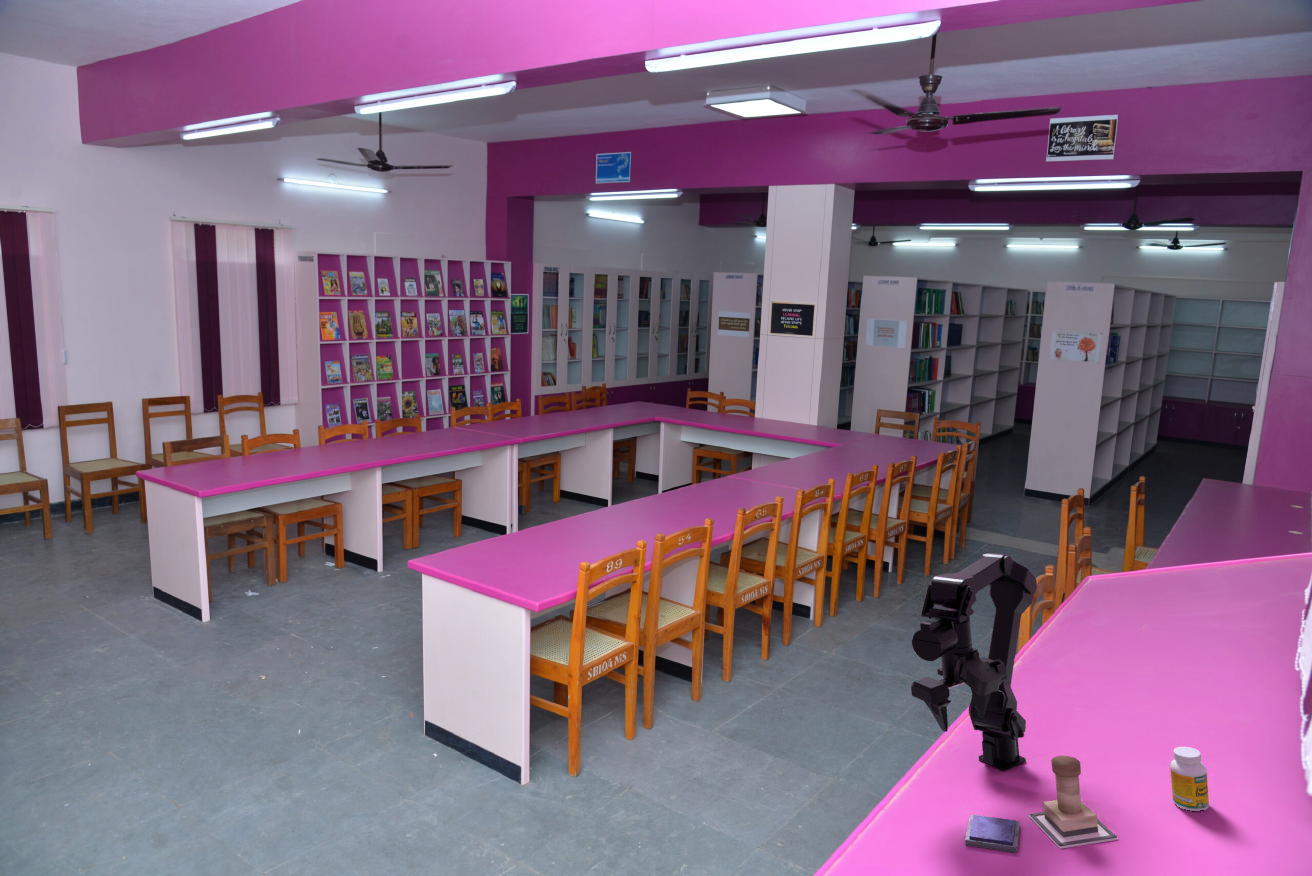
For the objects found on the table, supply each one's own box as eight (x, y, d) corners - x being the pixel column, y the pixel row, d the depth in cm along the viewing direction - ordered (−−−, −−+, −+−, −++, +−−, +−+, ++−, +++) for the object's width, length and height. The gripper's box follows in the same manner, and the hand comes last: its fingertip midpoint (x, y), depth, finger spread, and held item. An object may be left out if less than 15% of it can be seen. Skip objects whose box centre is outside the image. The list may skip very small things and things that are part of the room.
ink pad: (970, 820, 148) (970, 812, 148) (1019, 826, 144) (1019, 818, 144) (965, 845, 141) (964, 837, 141) (1017, 852, 137) (1016, 844, 137)
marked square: (1028, 816, 147) (1028, 813, 147) (1083, 808, 147) (1083, 805, 147) (1059, 848, 137) (1059, 845, 137) (1118, 839, 137) (1118, 836, 137)
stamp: (1044, 818, 145) (1039, 756, 144) (1078, 813, 146) (1072, 751, 145) (1063, 837, 139) (1058, 772, 138) (1098, 832, 140) (1093, 767, 139)
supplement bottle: (1181, 793, 148) (1178, 741, 147) (1215, 804, 144) (1211, 751, 143) (1166, 804, 145) (1162, 752, 145) (1200, 816, 141) (1196, 762, 140)
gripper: (950, 668, 144) (958, 754, 145) (1027, 641, 152) (1034, 724, 153) (905, 651, 154) (913, 732, 155) (979, 627, 162) (986, 704, 163)
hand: (963, 723), depth 157 cm, fingers open, 9 cm apart
